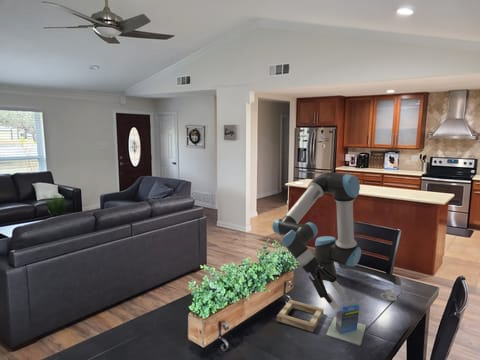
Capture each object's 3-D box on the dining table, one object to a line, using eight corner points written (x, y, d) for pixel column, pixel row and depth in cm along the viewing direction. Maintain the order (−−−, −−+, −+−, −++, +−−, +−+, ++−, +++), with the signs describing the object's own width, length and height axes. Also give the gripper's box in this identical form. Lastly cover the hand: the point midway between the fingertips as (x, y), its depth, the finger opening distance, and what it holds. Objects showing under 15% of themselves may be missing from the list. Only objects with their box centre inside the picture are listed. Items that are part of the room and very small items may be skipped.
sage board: (334, 317, 158) (334, 316, 158) (366, 326, 151) (366, 325, 151) (326, 335, 144) (326, 334, 144) (360, 345, 137) (360, 344, 137)
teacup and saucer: (394, 303, 173) (394, 296, 172) (378, 298, 177) (378, 291, 177) (398, 297, 180) (399, 289, 179) (382, 292, 184) (383, 285, 184)
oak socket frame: (289, 304, 169) (289, 299, 168) (323, 313, 161) (323, 308, 161) (276, 320, 154) (276, 315, 154) (313, 331, 146) (313, 326, 146)
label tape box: (351, 325, 151) (353, 299, 149) (357, 330, 147) (359, 304, 145) (335, 329, 148) (336, 302, 146) (340, 334, 144) (342, 307, 142)
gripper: (309, 256, 164) (339, 292, 160) (293, 276, 142) (326, 318, 138) (321, 248, 161) (351, 284, 156) (305, 266, 139) (340, 310, 134)
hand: (339, 300), depth 147 cm, fingers open, 13 cm apart
